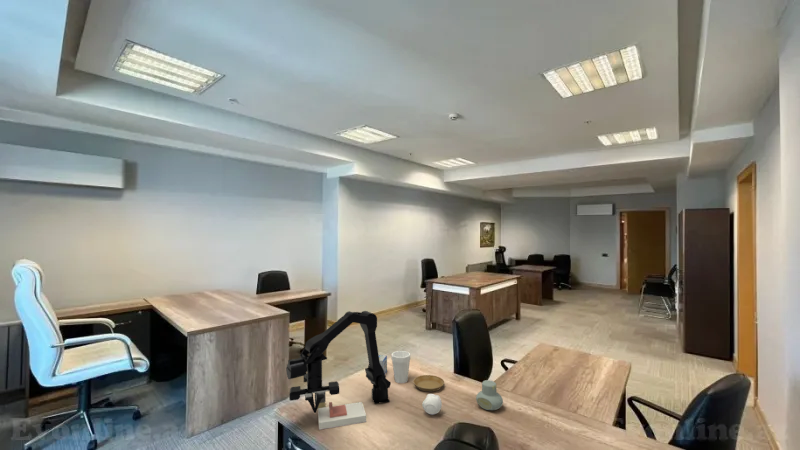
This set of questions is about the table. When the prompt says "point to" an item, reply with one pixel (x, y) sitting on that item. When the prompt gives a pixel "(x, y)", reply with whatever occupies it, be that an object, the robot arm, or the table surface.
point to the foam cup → (400, 365)
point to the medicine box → (383, 362)
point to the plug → (321, 402)
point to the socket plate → (353, 416)
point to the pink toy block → (337, 410)
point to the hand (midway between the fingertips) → (314, 412)
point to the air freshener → (489, 396)
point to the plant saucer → (428, 383)
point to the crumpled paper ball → (432, 404)
